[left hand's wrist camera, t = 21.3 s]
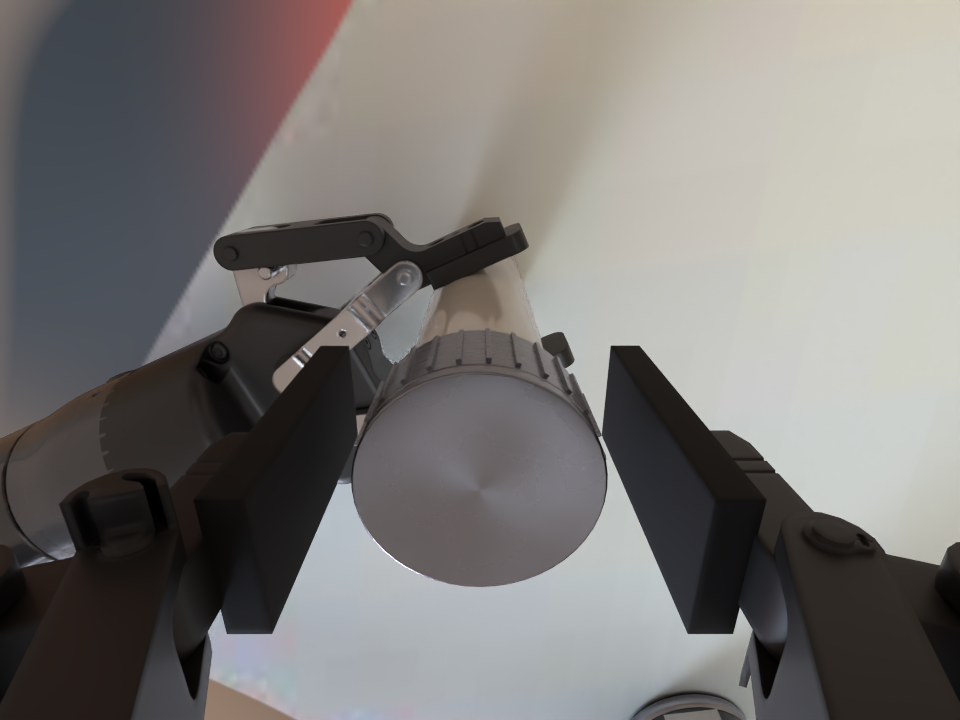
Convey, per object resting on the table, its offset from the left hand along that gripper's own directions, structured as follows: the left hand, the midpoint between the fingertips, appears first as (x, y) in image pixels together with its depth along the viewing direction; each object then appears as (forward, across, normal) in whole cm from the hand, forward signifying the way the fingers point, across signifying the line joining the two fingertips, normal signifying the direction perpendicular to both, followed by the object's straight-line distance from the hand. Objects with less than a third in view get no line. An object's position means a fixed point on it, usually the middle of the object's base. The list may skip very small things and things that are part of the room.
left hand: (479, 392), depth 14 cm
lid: (-4, 0, 0) cm, 4 cm away
